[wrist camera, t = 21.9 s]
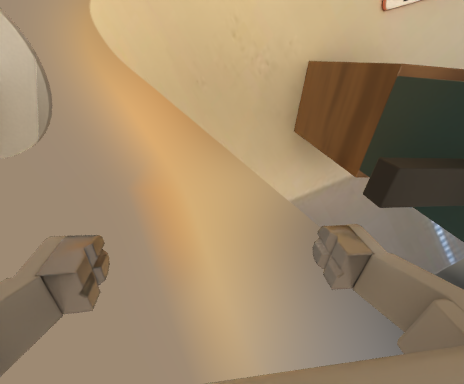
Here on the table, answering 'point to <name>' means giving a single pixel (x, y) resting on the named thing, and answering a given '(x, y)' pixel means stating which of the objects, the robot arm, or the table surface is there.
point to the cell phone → (396, 3)
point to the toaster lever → (416, 182)
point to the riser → (352, 105)
